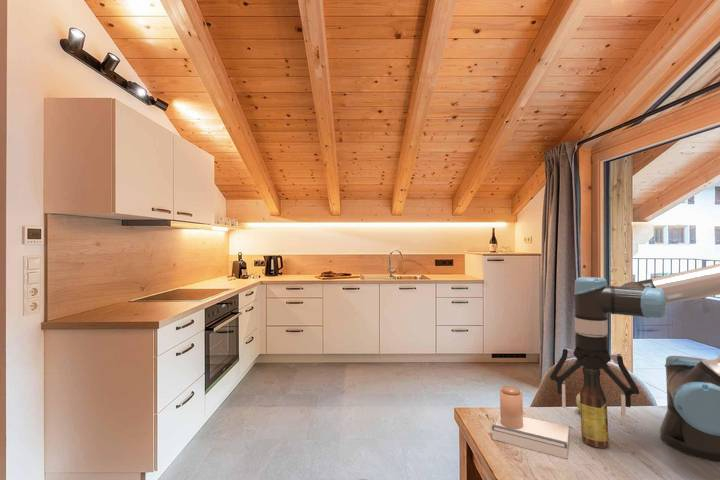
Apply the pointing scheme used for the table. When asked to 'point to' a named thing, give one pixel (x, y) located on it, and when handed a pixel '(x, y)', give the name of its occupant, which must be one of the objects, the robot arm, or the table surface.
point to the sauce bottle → (593, 410)
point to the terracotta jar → (511, 407)
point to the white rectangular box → (535, 436)
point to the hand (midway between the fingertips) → (592, 412)
